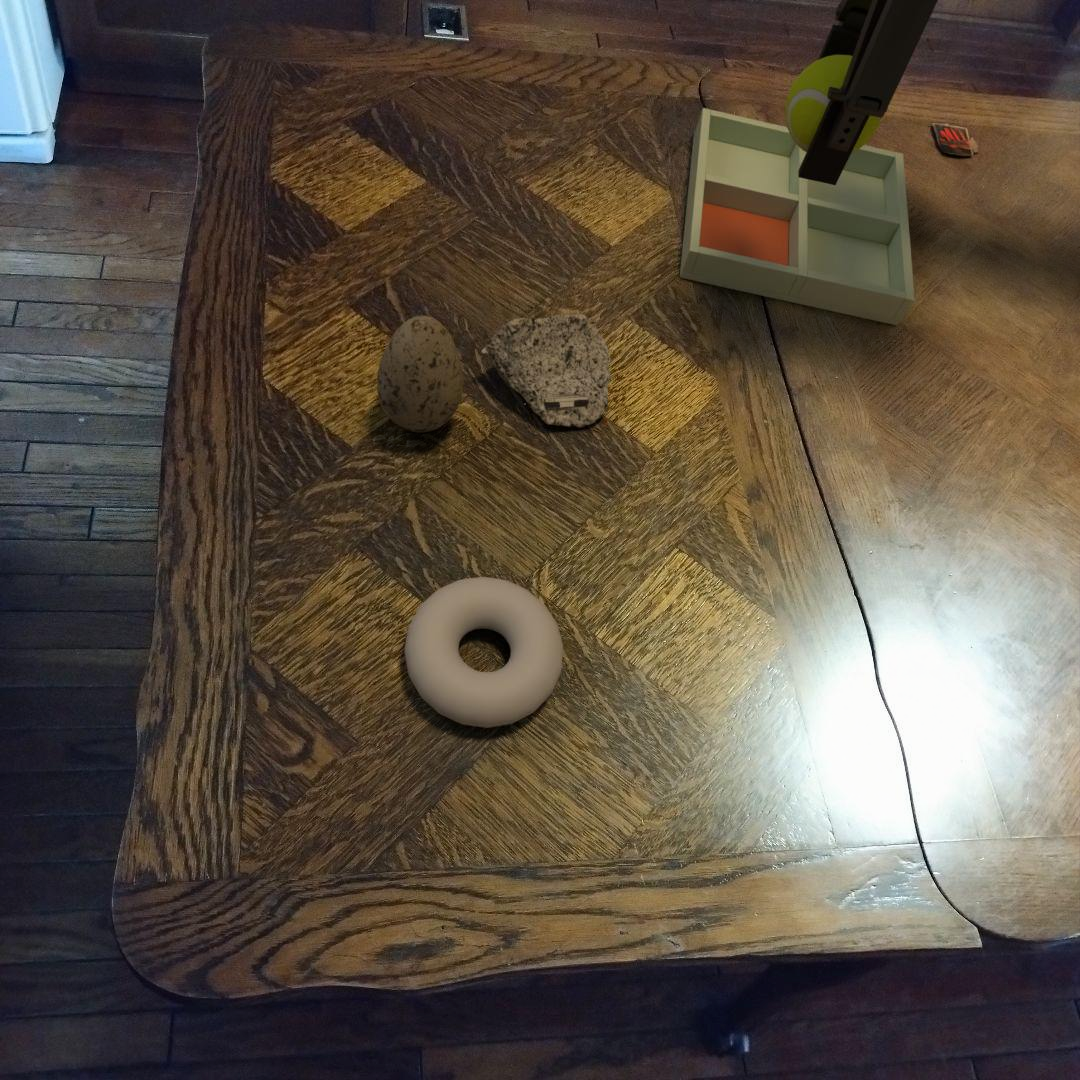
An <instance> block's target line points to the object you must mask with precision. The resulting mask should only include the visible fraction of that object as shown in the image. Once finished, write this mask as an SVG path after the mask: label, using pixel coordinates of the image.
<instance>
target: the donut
mask: <svg viewBox="0 0 1080 1080" xmlns="http://www.w3.org/2000/svg"><path fill="white" fill-rule="evenodd" d="M480 629H486V630H492V631H494V632H496V633H498V634H500V635H501V636H502V637H503V638H504V639H505V640H506V643H508V645H509V648H510V654H509V655H510V657H509V659H508V661H507V663H506V664H505V665H504V666H503V667H500V668H499V669H497V670H494V671H488V672H486V671H479V670H477V669H474V668H472V667H470V665H468V664H466V662H464V660H463V659H462V657H461V655H460V653H459V646H460V643H461V640H462V639H463V637H464V636H465V635H466V634H468V633H470V632H472V631H474V630H480ZM404 656H405V663H406V667H407V674H408V676H409V678H410V680H411V682H412V683H413V685H414V687H415V689H416V691H417V692H418V694H419V696H420V698H421V699H422V700H423V701H425V702H426V703H427V704H428V705H429V706H430V707H431V708H432V709H433V710H434V711H436V712H437V713H438V714H439V715H441V716H443V717H445V718H447V719H449V720H452V721H454V722H456V723H458V724H460V725H464V726H471V727H477V728H478V727H479V728H486V729H489V728H496V727H501V726H507V725H512V724H514V723H516V722H518V721H520V720H521V719H524V718H526V717H528V716H530V715H531V714H534V713H535V711H537V710H538V709H539V708H540V706H541V705H543V703H544V702H545V701H546V700H547V699H548V698H549V697H550V696H551V695H552V694H553V692H554V690H555V687H556V685H557V683H558V680H559V679H560V676H561V674H562V671H563V670H562V669H563V657H564V644H563V639H562V636H561V632H560V628H559V624H558V623H557V621H556V620H555V618H554V616H553V615H552V613H551V612H550V610H549V608H548V607H547V606H546V604H545V603H543V602H542V601H541V600H540V599H539V598H538V597H536V596H535V595H534V594H532V592H530V591H529V590H528V589H526V588H525V587H522V586H520V585H517V584H516V583H513V582H511V581H509V580H506V579H503V578H502V579H501V578H494V577H488V576H478V577H471V578H470V577H469V578H463V579H458V580H456V581H453V582H451V583H449V584H446V585H445V586H443V587H440V588H438V589H436V590H435V591H434V592H433V593H432V594H431V595H430V596H429V597H427V598H426V599H425V600H424V601H423V602H422V603H421V604H420V605H419V607H418V609H417V610H416V612H415V614H414V616H413V617H412V620H411V621H410V623H409V625H408V627H407V632H406V638H405V643H404Z"/></svg>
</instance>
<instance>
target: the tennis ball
mask: <svg viewBox="0 0 1080 1080" xmlns="http://www.w3.org/2000/svg"><path fill="white" fill-rule="evenodd" d="M818 59H819V58H818ZM818 59H817V60H815V61H813V62H812V63H811V64H809V65H808V66H807V67H805V68H804V69H802V71H801V72H800V74H798V76H797V77H796V79H795V80H794V81H793V82H792V85H791V87H790V89H789V90H788V93H787V97H786V101H785V108H784V117H785V118H784V119H785V124H786V127H787V128H788V131H789V133H790V135H791V137H792V139H793V140H794V141H795V143H796V144H797V145H798V146H799V147H800V148H801V149H802V150H803V151H805V152H806V153H807V150H808V148H809V146H810V144H811V141H812V139H813V137H814V135H815V132H816V130H817V128H818V126H819V123H820V121H821V119H822V117H823V115H824V112H825V110H826V108H827V106H828V103H829V101H830V99H828V98H827V95H828V90H829V87H834V88H838V89H840V88H841V87H842V84H843V81H844V79H845V76H846V73H847V70H848V67H849V65H850V62H851V59H852V56H850V55H832V56H827V57H824V58H821V59H819V60H818ZM882 119H883V117H882V118H879V117H874V116H869V118H868V120H867V122H866V124H865V126H864V128H863V130H862V133H861V135H860V137H859V139H858V141H857V143H856V145H855V147H854V149H853V151H852V152H854V151H856V150H858V149H860V148H861V147H862V146H864V145H866V144H867V143H868V142H869V141H870V140H871V139H872V137H873V136H874V134H875V133H876V131H877V130H878V128H879V127H880V124H881V122H882Z"/></svg>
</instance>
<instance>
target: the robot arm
mask: <svg viewBox="0 0 1080 1080" xmlns="http://www.w3.org/2000/svg"><path fill="white" fill-rule="evenodd" d="M938 1H939V0H841V1H840V2H839V4H838V5H837V7H836V8H835V11H834V14H835V18H834V20H835V21H836V22H838V24H835V23H834V24H832V26H831V28H830V29H829V30H830V31H829V32H828V35H827V36H826V40H825V42H824V44H823V47H822V49H821V51H820V54H819V56H818V59H817V60H819V59H821V58H824V57H827V56H832V55H850V56H852V59H851V62H850V65H849V67H848V70H847V73H846V76H845V79H844V81H843V84H842V87H841V88H840V89H838V88H834V87H829V90H828V95H827V98H828V99H830V101H829V103H828V106H827V108H826V110H825V112H824V115H823V117H822V119H821V121H820V123H819V126H818V128H817V130H816V132H815V135H814V137H813V139H812V141H811V144H810V146H809V148H808V150H807V153H806V155H805V157H804V159H803V161H802V164H801V166H800V168H799V170H798V177H799V178H804V179H808V180H813V181H818V182H822V183H827V184H831V185H836V183H837V181H838V179H839V177H840V175H841V173H842V171H843V169H844V167H845V165H846V163H847V161H848V159H849V157H850V155H851V153H852V151H853V149H854V147H855V145H856V143H857V141H858V139H859V137H860V135H861V133H862V130H863V128H864V126H865V124H866V122H867V120H868V118H869V116H874V117H879V118H882V119H883V117H885V115H886V113H887V112H888V109H889V106H890V103H891V101H892V99H893V97H894V95H895V93H896V91H897V88H898V87H899V85H900V82H901V80H902V78H903V76H904V73H905V71H906V70H907V67H908V65H909V63H910V61H911V60H912V59H911V58H913V57H912V56H913V54H914V52H915V50H916V48H917V46H918V44H919V41H920V40H921V38H922V36H923V34H924V31H925V29H926V27H927V24H928V22H929V20H930V18H931V17H932V14H933V13H934V10H935V8H936V6H937V3H938Z"/></svg>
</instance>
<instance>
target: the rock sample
mask: <svg viewBox="0 0 1080 1080" xmlns="http://www.w3.org/2000/svg"><path fill="white" fill-rule="evenodd" d="M527 311H528V310H527V309H526V310H525V312H527ZM530 313H533V310H531V311H530ZM486 341H487V342H488V341H490V342H489V344H487V342H485V344H486V345H485V346H484V348H482V349H481V353H482V354H484V355H488V356H489V358H490V361H489V362H491V361H492V363H493V365H494V367H495V368H494V369H495V370H496V372H497V373H498V374H499V377H500V378H501V379H502V380H504V382H506V383H507V384H508V386H510V388H512V389H513V391H515V392H517V393H519V394H520V395H521V397H522V398H523V399H524V400H525V401H526V403H527V405H528V408H530V409H531V410H532V411H533V413H535V414H536V415H538V416H539V417H540V419H541V420H542V421H544V423H545V424H546V425H547V426H548V425H549V426H558V427H559V426H562V427H566V428H567V427H568V428H570V427H571V428H572V427H575V428H578V429H579V428H580V429H581V428H584V427H586V426H589V425H592V424H594V423H596V421H597V420H598V419H600V418H602V417H603V416H605V414H606V413H607V409H608V407H609V390H608V386H609V384H610V382H611V381H612V379H613V377H612V372H611V371H610V370H609V367H610V365H611V363H612V357H611V356H612V354H611V353H610V354H609V352H610V351H612V348H610V349H609V345H608V344H607V343H606V341H605V337H604V335H602V334H601V333H600V331H599V329H598V327H597V324H595V323H591V322H590V321H588V318H587V316H586V315H585V314H583V313H582V314H577V313H576V312H575V313H573V314H564V313H563V314H553V315H548V316H546V317H539V318H538V317H537V318H532V317H531V318H530V317H528V316H527V317H516V318H513V319H512V320H510V321H509V322H506V323H505V324H502V325H501V327H500V329H498V330H497V331H496V332H495V334H494V335H493V336H490V337H489V338H487V339H486ZM526 403H524V404H521V405H526Z"/></svg>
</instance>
